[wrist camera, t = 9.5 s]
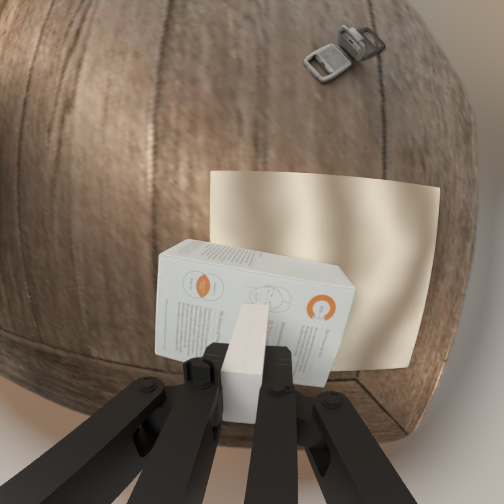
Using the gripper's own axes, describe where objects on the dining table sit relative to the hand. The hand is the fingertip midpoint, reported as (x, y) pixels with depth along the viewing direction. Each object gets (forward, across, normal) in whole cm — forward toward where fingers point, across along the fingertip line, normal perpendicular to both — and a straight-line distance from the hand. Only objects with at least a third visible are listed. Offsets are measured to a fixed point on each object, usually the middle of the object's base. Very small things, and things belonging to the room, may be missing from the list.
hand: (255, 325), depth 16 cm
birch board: (+9, +6, 0) cm, 11 cm away
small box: (+5, -7, 0) cm, 9 cm away
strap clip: (+10, +7, +21) cm, 24 cm away
